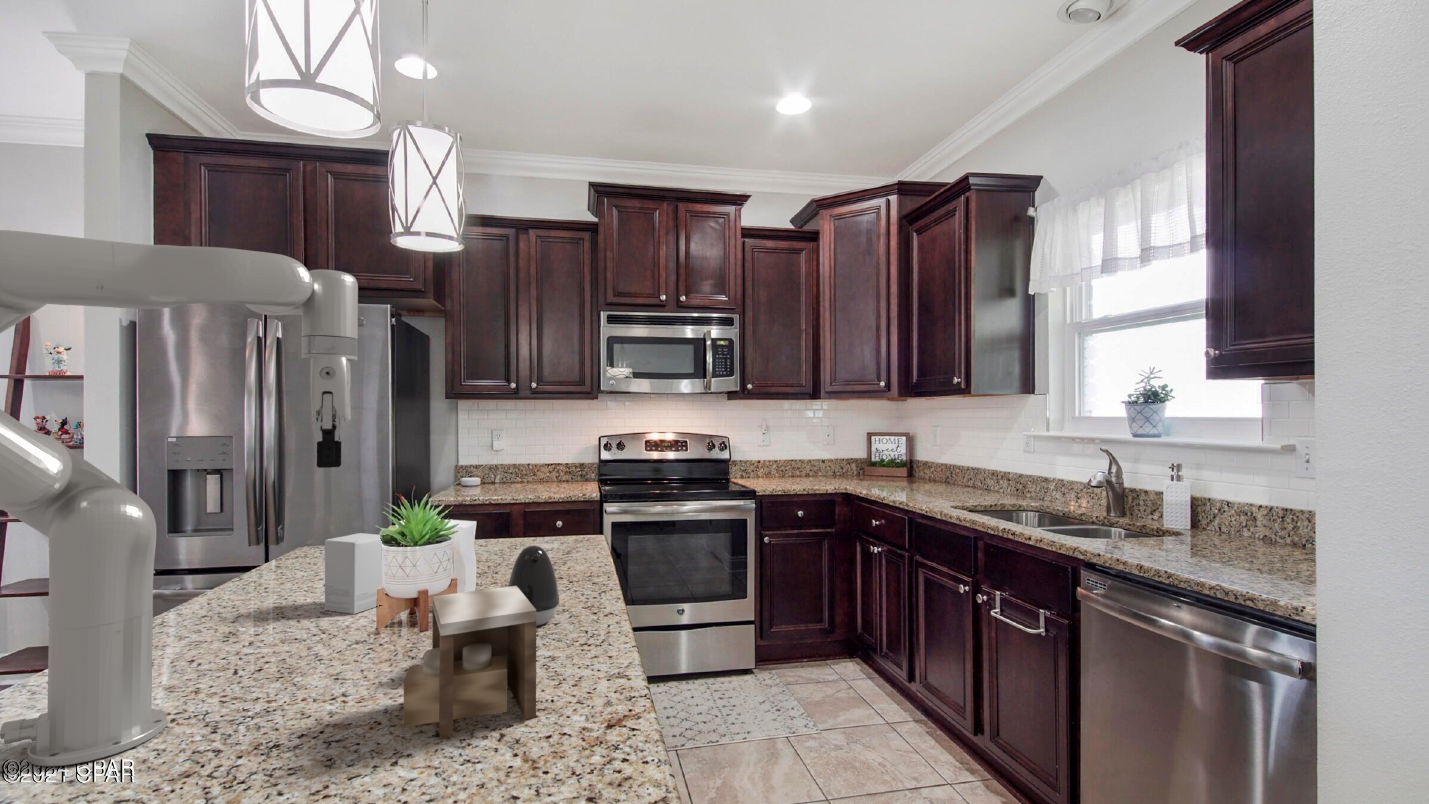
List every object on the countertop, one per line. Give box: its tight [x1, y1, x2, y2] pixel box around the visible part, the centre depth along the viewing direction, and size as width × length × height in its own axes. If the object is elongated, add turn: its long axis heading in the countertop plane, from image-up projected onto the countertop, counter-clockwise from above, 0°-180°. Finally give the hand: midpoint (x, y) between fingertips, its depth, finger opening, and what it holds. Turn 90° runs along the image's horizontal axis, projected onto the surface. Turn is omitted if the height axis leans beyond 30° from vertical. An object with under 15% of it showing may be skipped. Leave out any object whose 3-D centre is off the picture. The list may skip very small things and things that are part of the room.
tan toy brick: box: [403, 643, 508, 728], centre depth 88 cm, size 13×6×8 cm, turn 109°
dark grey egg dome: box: [507, 545, 560, 627], centre depth 125 cm, size 10×10×15 cm
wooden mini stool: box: [431, 586, 537, 740], centre depth 89 cm, size 12×14×14 cm
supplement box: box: [324, 532, 382, 615], centre depth 136 cm, size 9×9×15 cm
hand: (329, 466), depth 99 cm, fingers closed
